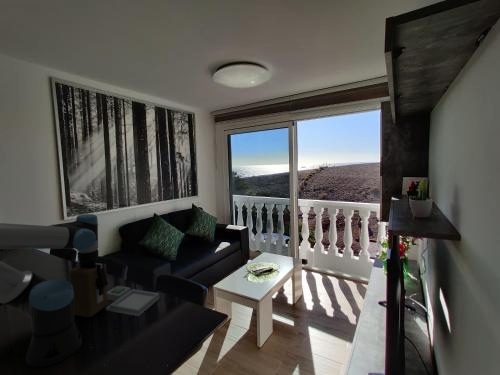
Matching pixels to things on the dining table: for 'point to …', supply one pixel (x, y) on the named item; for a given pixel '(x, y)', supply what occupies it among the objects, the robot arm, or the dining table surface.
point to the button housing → (115, 296)
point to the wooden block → (86, 291)
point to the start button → (118, 289)
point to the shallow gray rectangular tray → (134, 302)
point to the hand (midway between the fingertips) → (89, 300)
